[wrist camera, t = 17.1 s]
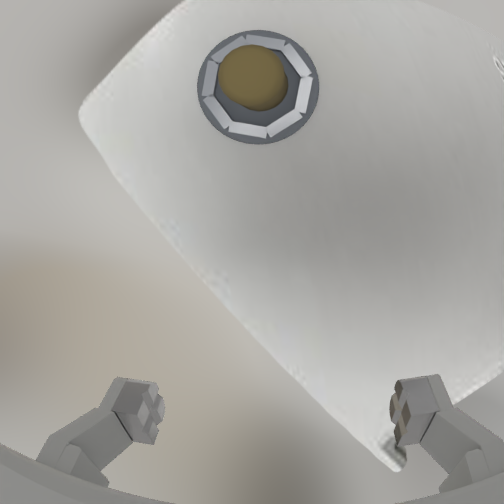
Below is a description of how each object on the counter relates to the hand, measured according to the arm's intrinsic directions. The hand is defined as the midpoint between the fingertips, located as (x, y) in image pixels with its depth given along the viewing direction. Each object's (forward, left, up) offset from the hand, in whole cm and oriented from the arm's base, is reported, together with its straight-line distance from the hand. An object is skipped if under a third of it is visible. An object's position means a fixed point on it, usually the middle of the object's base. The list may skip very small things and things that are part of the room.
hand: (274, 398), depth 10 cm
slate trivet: (-4, -11, -29) cm, 31 cm away
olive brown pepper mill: (-4, -11, -29) cm, 31 cm away
